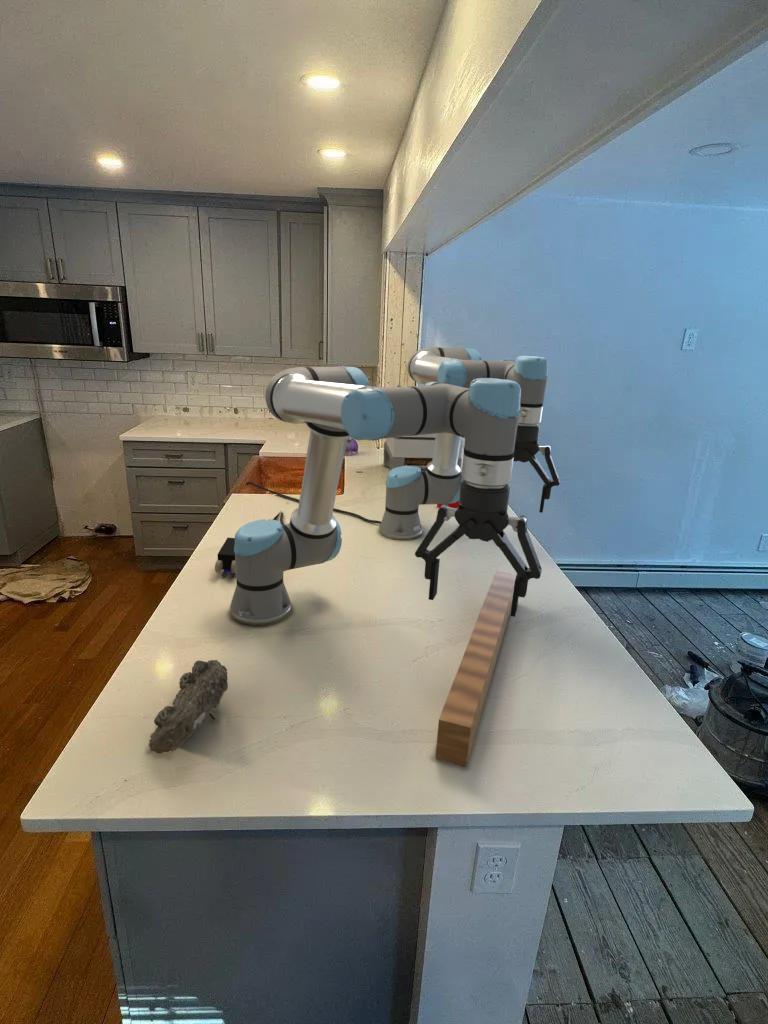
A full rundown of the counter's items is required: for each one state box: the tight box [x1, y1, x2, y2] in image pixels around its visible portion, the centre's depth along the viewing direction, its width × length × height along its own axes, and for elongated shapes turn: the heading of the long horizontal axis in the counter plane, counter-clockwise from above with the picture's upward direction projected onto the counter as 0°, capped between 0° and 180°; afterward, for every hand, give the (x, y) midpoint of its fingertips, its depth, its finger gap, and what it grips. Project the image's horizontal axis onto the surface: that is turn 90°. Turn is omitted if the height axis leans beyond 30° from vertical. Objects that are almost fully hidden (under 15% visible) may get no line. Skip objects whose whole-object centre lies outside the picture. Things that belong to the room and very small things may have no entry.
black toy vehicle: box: [214, 537, 236, 578], centre depth 166 cm, size 7×8×15 cm
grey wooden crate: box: [383, 384, 464, 472], centre depth 268 cm, size 34×33×41 cm
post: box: [434, 570, 517, 768], centre depth 127 cm, size 64×6×8 cm, turn 161°
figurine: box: [344, 437, 359, 456], centre depth 303 cm, size 9×10×15 cm
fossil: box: [148, 659, 229, 754], centre depth 106 cm, size 22×10×15 cm
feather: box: [272, 510, 283, 521], centre depth 212 cm, size 2×28×2 cm
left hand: (472, 604), depth 94 cm, fingers open, 13 cm apart
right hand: (513, 507), depth 143 cm, fingers open, 13 cm apart
